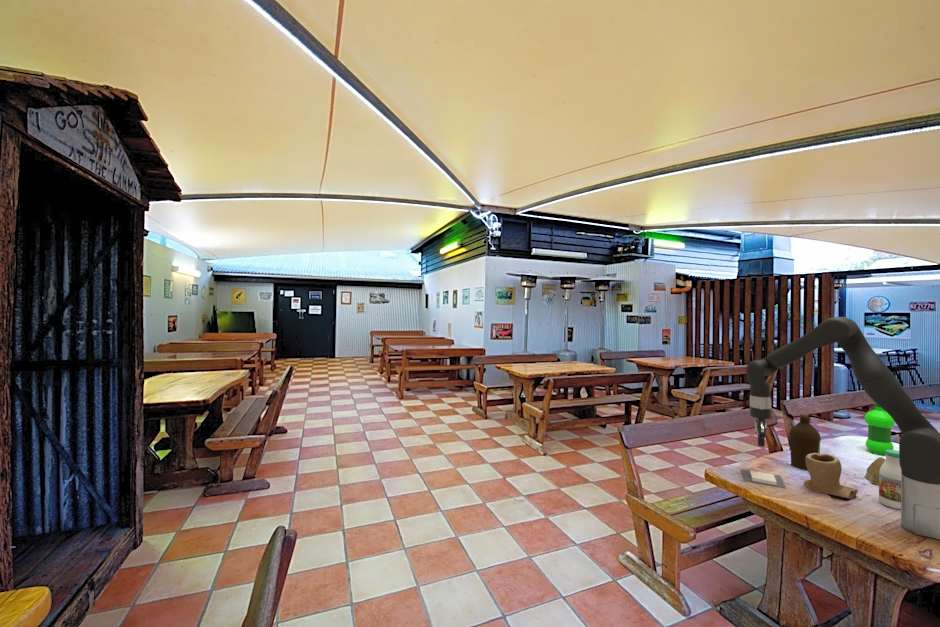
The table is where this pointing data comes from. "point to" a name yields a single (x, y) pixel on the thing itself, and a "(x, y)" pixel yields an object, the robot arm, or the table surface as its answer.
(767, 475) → the tile
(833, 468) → the tan hollow piece
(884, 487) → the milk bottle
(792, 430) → the olive oil
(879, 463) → the rock
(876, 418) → the plastic bottle
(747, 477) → the mat
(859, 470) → the table surface
